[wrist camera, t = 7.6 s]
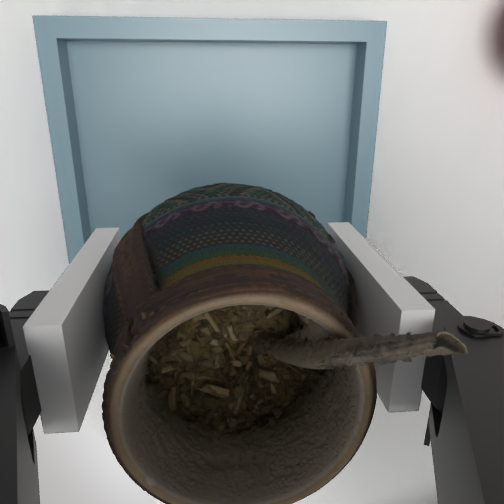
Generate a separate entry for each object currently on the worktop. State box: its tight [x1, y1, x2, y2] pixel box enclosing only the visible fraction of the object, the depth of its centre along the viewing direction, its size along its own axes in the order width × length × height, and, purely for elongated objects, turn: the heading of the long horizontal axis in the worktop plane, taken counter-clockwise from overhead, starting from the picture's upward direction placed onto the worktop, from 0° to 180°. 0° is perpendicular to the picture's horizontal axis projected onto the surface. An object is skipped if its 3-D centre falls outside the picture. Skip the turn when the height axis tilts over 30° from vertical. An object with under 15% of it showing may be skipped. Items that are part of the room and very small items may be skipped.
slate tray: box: [32, 16, 387, 264], centre depth 27 cm, size 18×18×2 cm
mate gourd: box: [102, 183, 468, 504], centre depth 12 cm, size 7×8×10 cm
